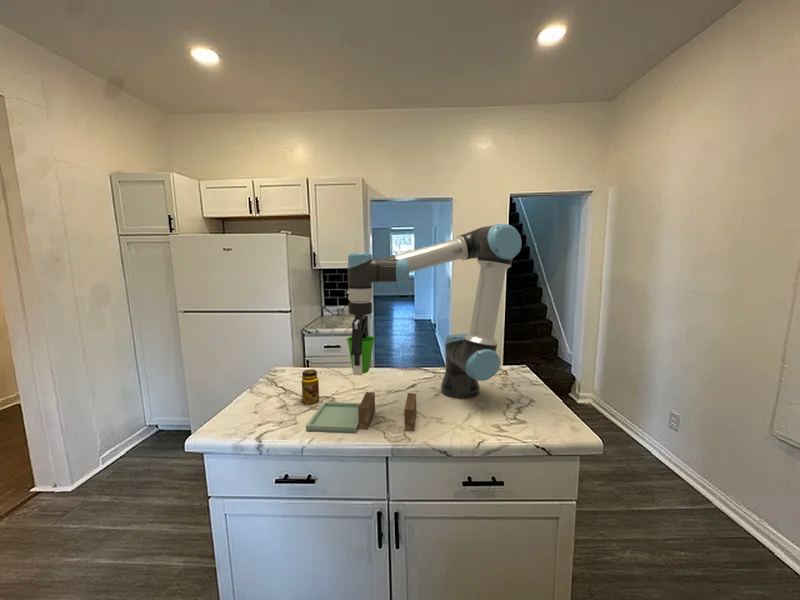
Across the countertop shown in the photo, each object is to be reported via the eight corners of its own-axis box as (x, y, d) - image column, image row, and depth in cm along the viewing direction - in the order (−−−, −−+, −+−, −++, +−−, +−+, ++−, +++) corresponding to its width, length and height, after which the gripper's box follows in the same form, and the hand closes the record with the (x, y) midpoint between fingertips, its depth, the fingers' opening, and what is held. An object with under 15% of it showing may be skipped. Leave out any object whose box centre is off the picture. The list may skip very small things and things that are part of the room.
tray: (367, 408, 127) (367, 403, 127) (356, 433, 109) (356, 427, 109) (324, 406, 128) (323, 401, 128) (306, 431, 111) (305, 425, 110)
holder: (416, 412, 122) (416, 393, 122) (414, 431, 110) (414, 409, 109) (366, 411, 124) (366, 392, 123) (358, 429, 111) (358, 408, 111)
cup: (370, 376, 110) (370, 342, 109) (342, 375, 112) (342, 340, 110) (377, 368, 119) (377, 336, 118) (351, 366, 121) (351, 334, 119)
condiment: (314, 407, 128) (312, 375, 127) (293, 404, 131) (292, 373, 129) (324, 399, 135) (322, 368, 134) (304, 396, 138) (303, 367, 136)
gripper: (355, 297, 124) (356, 359, 126) (340, 306, 102) (341, 381, 105) (377, 297, 123) (377, 360, 126) (365, 306, 101) (366, 382, 104)
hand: (360, 369), depth 115 cm, fingers closed on cup, 9 cm apart
